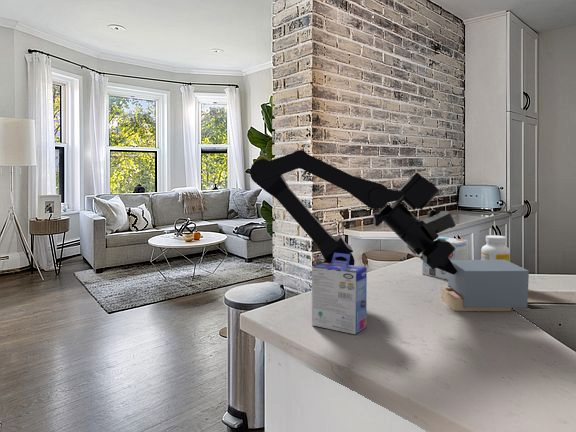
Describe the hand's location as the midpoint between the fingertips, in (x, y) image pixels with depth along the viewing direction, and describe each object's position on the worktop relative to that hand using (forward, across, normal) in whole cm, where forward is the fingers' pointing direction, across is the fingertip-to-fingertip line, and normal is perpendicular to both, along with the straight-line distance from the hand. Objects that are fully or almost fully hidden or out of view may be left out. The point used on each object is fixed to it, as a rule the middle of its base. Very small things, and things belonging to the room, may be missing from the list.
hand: (455, 272), depth 92 cm
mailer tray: (+8, 0, +2) cm, 9 cm away
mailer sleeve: (+9, 0, 0) cm, 9 cm away
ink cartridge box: (-14, -13, +24) cm, 31 cm away
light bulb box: (+9, +25, +2) cm, 27 cm away
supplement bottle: (+16, +16, -6) cm, 23 cm away
